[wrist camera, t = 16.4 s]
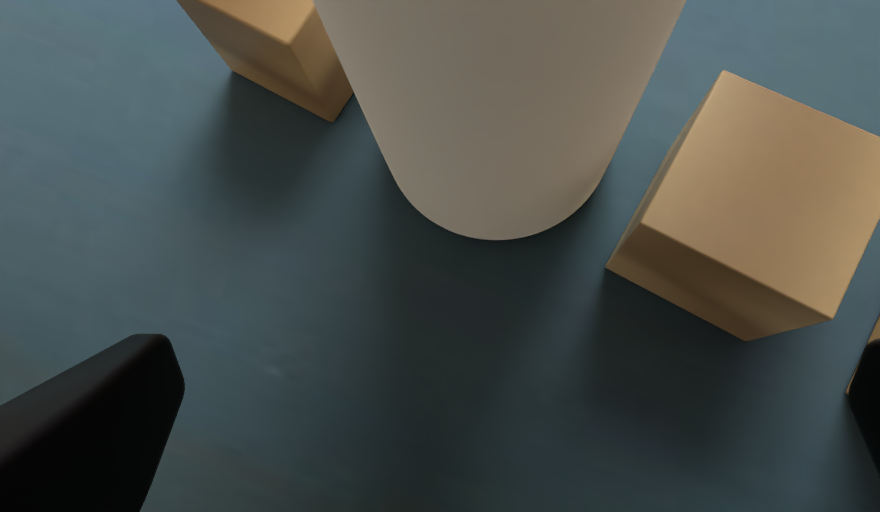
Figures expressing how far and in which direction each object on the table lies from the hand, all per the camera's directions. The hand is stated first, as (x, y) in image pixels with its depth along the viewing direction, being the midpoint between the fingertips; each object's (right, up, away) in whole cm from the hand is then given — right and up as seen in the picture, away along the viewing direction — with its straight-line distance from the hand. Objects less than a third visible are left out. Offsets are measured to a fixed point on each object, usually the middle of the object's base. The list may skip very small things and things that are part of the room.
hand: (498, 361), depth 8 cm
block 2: (+6, +2, +8) cm, 10 cm away
